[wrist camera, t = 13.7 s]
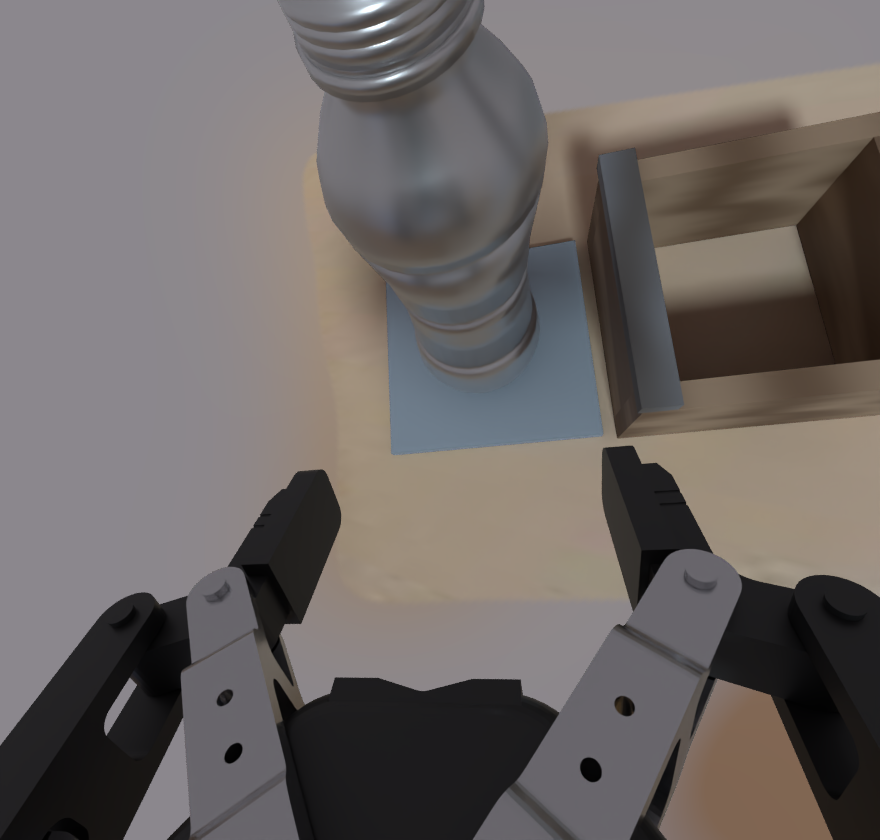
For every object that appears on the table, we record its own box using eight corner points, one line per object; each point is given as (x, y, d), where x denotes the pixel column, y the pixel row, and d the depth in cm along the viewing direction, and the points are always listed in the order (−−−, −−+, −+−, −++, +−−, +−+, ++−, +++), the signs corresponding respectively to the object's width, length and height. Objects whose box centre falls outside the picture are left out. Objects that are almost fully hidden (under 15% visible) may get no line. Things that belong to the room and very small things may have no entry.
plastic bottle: (409, 338, 28) (138, -65, 9) (503, 279, 27) (434, -279, 8) (461, 423, 26) (260, 150, 7) (562, 362, 26) (650, -112, 6)
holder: (815, 202, 25) (912, 91, 19) (878, 414, 22) (1019, 370, 16) (583, 241, 28) (598, 154, 21) (613, 438, 25) (641, 408, 18)
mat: (574, 246, 28) (575, 240, 27) (601, 436, 25) (603, 434, 24) (388, 277, 30) (385, 272, 29) (394, 455, 27) (391, 453, 26)
